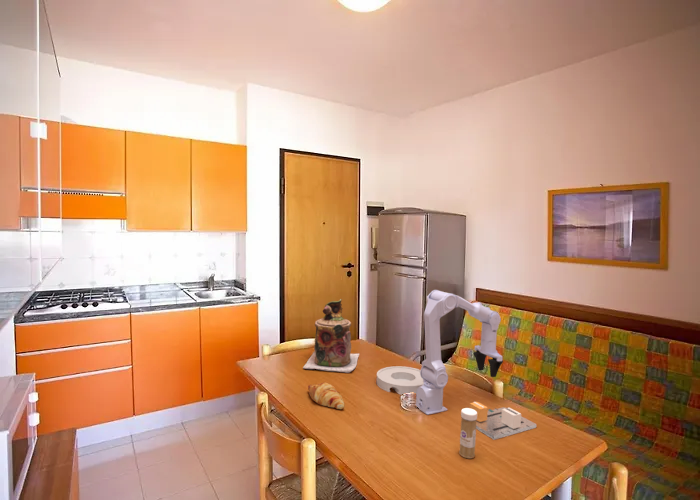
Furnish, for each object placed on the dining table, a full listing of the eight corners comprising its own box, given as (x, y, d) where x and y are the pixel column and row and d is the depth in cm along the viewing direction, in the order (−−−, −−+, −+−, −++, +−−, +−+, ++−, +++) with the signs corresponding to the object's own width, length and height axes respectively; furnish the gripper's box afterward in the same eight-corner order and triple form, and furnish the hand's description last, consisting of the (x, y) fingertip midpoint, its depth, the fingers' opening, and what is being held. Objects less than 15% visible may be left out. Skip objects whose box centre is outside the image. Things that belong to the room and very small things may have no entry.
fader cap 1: (479, 422, 134) (480, 408, 134) (469, 415, 139) (469, 402, 138) (487, 420, 136) (487, 406, 136) (476, 413, 140) (477, 400, 140)
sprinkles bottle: (456, 455, 117) (458, 410, 116) (463, 448, 120) (465, 405, 119) (471, 461, 114) (473, 416, 113) (477, 454, 117) (479, 410, 116)
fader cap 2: (513, 428, 130) (513, 414, 130) (501, 422, 135) (501, 408, 134) (520, 426, 132) (521, 412, 132) (508, 420, 136) (509, 406, 136)
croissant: (348, 418, 145) (356, 396, 147) (331, 412, 139) (339, 390, 141) (313, 397, 160) (321, 378, 162) (296, 392, 154) (304, 372, 156)
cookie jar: (313, 354, 207) (315, 294, 206) (360, 357, 204) (361, 296, 202) (301, 370, 183) (303, 302, 181) (353, 374, 179) (356, 305, 178)
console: (495, 440, 125) (495, 436, 125) (461, 419, 139) (461, 415, 139) (537, 428, 134) (538, 424, 134) (502, 409, 148) (502, 406, 148)
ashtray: (389, 398, 155) (389, 388, 155) (368, 377, 177) (368, 368, 177) (440, 392, 163) (440, 383, 162) (414, 372, 185) (414, 364, 184)
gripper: (509, 344, 151) (507, 378, 152) (485, 334, 165) (483, 366, 166) (494, 345, 149) (492, 380, 150) (471, 335, 163) (469, 367, 163)
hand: (486, 373), depth 158 cm, fingers open, 7 cm apart
